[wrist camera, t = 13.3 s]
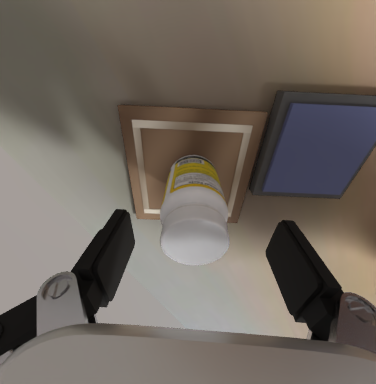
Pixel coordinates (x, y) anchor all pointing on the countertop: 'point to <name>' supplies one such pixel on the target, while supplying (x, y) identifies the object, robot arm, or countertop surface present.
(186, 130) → the marked board
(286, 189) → the ink pad
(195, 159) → the supplement bottle
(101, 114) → the countertop surface
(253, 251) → the countertop surface
